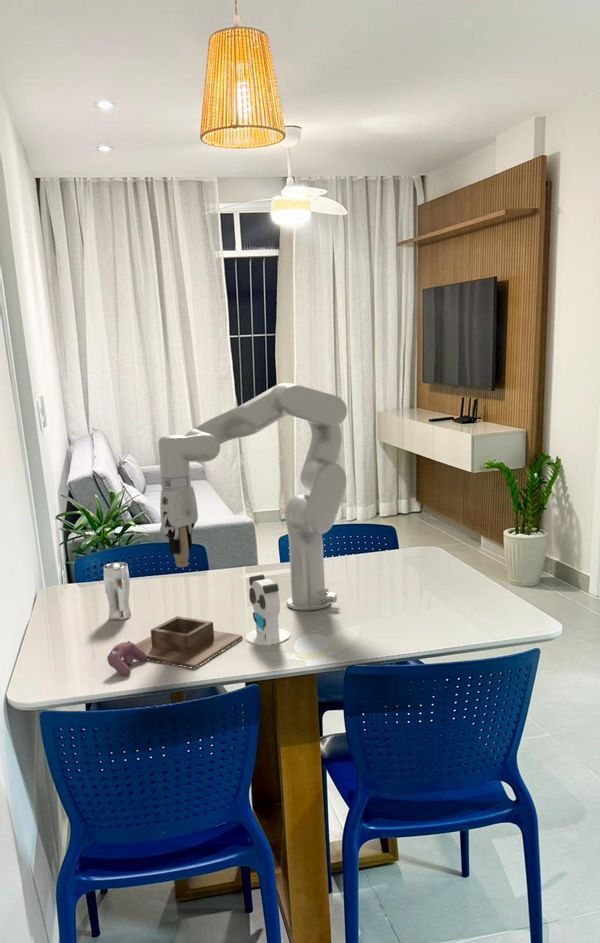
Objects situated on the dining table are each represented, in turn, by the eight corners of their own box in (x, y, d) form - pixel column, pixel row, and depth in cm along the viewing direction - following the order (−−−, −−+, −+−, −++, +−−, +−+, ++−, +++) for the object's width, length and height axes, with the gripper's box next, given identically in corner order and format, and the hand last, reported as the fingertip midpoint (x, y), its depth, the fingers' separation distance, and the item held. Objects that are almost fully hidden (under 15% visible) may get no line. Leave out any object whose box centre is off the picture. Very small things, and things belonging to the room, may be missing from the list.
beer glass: (137, 614, 217) (133, 563, 214) (122, 622, 210) (117, 569, 208) (118, 611, 220) (113, 561, 217) (102, 619, 213) (97, 568, 211)
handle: (195, 567, 200) (191, 511, 197) (171, 570, 198) (166, 513, 196) (193, 562, 204) (189, 507, 202) (169, 565, 203) (164, 510, 200)
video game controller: (135, 665, 185) (121, 640, 185) (149, 658, 183) (135, 632, 183) (115, 682, 175) (100, 656, 175) (130, 675, 174) (115, 648, 174)
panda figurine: (238, 633, 198) (235, 577, 196) (278, 625, 202) (275, 570, 200) (254, 648, 187) (251, 590, 185) (297, 639, 192) (294, 582, 189)
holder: (242, 639, 194) (241, 618, 193) (194, 669, 177) (193, 646, 176) (174, 627, 204) (172, 607, 204) (122, 654, 187) (121, 633, 186)
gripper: (165, 489, 189) (171, 560, 192) (207, 478, 203) (212, 544, 206) (143, 487, 193) (148, 557, 195) (185, 476, 207) (190, 542, 210)
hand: (181, 550), depth 201 cm, fingers closed on handle, 4 cm apart
